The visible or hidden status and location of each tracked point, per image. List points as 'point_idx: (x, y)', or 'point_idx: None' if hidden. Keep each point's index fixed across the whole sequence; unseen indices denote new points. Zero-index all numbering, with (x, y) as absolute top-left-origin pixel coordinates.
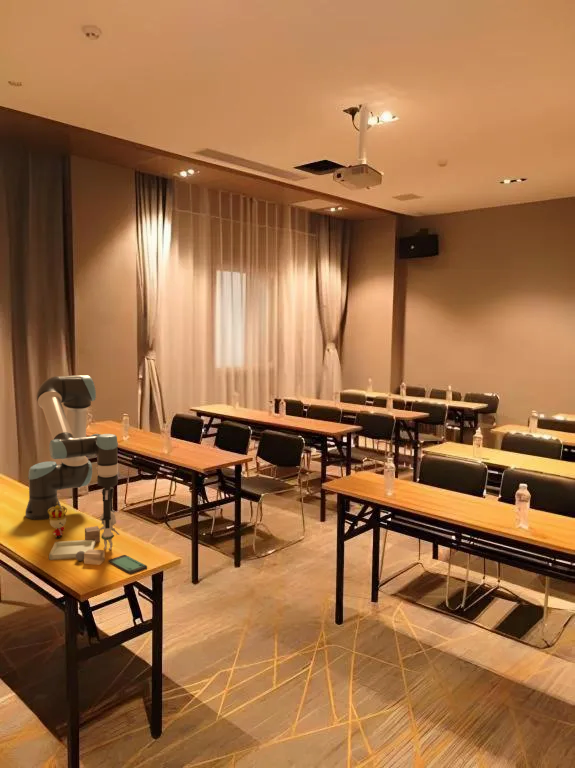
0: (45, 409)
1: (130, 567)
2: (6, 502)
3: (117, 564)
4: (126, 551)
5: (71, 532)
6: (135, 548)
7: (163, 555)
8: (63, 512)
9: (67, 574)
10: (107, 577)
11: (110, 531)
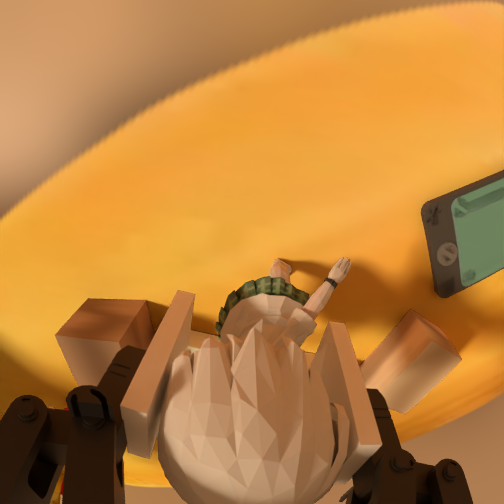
0: None
1: None
2: None
3: (501, 266)
4: (358, 179)
5: (38, 368)
6: (332, 114)
7: (475, 22)
8: (55, 489)
9: (436, 414)
10: None
11: (349, 352)
